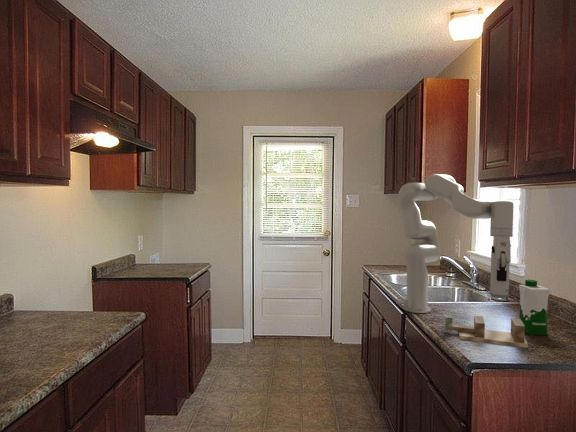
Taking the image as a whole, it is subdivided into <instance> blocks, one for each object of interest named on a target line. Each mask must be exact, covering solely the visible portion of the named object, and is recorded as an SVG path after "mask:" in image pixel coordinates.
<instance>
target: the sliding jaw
mask: <svg viewBox="0 0 576 432" xmlns="http://www.w3.org/2000/svg"><path fill="white" fill-rule="evenodd" d="M484 319H485V318H484V316H481V315H474V316H473V326H466V325H458V324H453V314H447V313H446V314H445V321H444V322H445V324H444V327H445V328H444V331H450V332H452V331H456V332H459V331H463V332H471V333H475V336H479V337H484V335H485V330H486V329H485V328H486V323H485V320H484Z"/></svg>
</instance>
